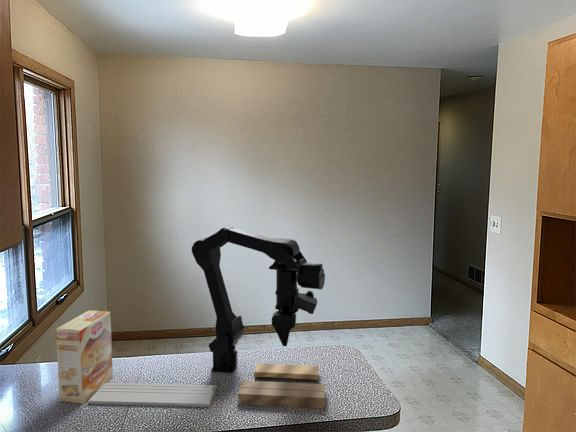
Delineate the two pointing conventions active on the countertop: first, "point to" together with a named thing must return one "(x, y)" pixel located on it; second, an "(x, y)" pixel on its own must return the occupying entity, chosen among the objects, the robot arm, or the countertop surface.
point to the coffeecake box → (84, 355)
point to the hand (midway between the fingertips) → (286, 339)
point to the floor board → (282, 394)
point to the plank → (286, 371)
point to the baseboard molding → (154, 394)
